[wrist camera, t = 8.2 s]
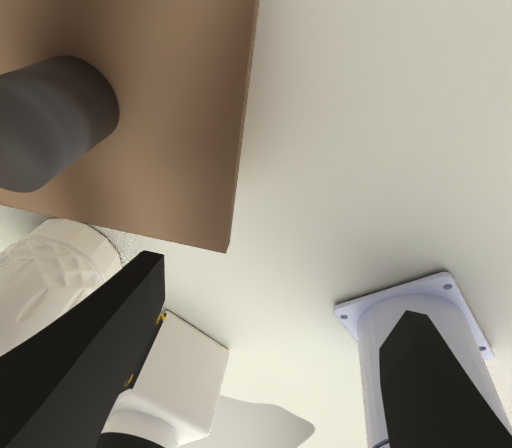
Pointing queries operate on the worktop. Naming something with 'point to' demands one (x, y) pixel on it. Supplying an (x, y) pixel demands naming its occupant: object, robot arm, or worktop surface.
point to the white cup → (50, 276)
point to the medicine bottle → (168, 390)
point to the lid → (126, 112)
